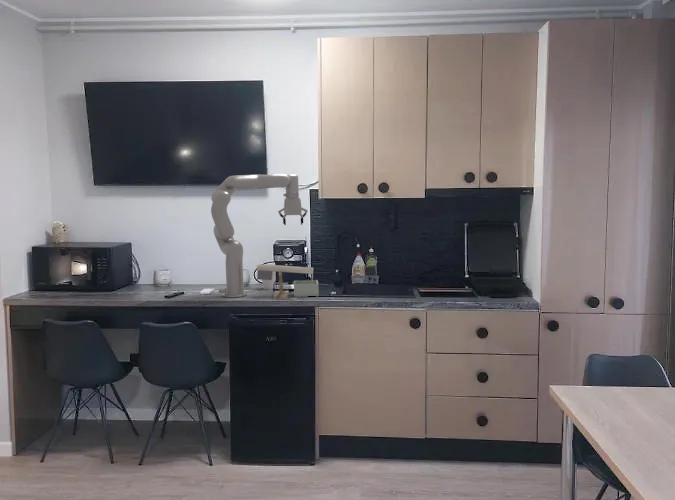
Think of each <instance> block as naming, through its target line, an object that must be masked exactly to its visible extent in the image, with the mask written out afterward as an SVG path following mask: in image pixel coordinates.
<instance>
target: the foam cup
mask: <svg viewBox="0 0 675 500" xmlns="http://www.w3.org/2000/svg"><path fill="white" fill-rule="evenodd" d="M276 273H277V272H275V271H272V280H261V281H262V283H261V284H262V287H263V290H265V291H266V290H268V291H269V290H274V289H273V284H274V282H275V281H276ZM274 285H275V284H274Z"/></svg>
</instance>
